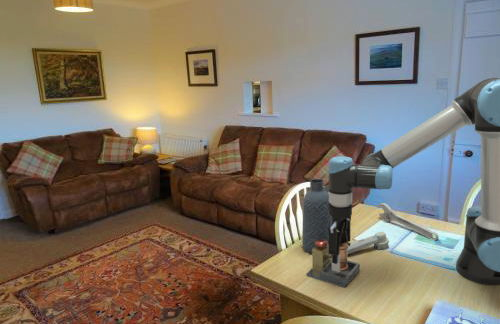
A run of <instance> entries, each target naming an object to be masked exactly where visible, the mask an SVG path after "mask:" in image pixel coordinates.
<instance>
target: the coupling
mask: <svg viewBox="0 0 500 324" xmlns="http://www.w3.org/2000/svg"><path fill="white" fill-rule="evenodd" d="M348 243H349V242H348ZM348 243H347V242H346V241H344V240H341V241H340V249H339V254H340V272H343V271H346V270H347V269H348V264H347V260H348V254H347V248H348ZM331 268H332V263H331Z"/></svg>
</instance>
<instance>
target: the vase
mask: <svg viewBox="0 0 500 324" xmlns="http://www.w3.org/2000/svg"><path fill="white" fill-rule="evenodd" d="M324 183H325V181H324V180H323V179H319V178H313V179H311V180H310V181H309V190H307V192H306V193H305V194H304V196H303V200H302V201H303V202H302V233H301V234H302V236H301V237H302V238H301V239H302V240H301V242H302V243H301V245H302V249H303V250H304V252H306V253H308V254H311V255H312V249H313V248H314V247H315V246H316V245H315V240H317V239H325V240H327V242H328V244H329V231H328V227H329V226H330V227H332V216H330V215H329V195H328V193H327V192H326V191H325V190H324V187H325V184H324Z"/></svg>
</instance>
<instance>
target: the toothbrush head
mask: <svg viewBox="0 0 500 324" xmlns="http://www.w3.org/2000/svg"><path fill="white" fill-rule="evenodd" d="M386 235H387V234H386V232H384V231H377V232H375V234H374V235H372V236H369V237H366V238H361V239H358V240H355V241H352V242H350V243H351V244H350V246H348V253H347V255H349V254H353V253H355V252H357V251H359V250H363V249H365V248H368V247H370V246H373V245H374V248H375V249H377V250H386V249H387V248H388V247H389V243H390V239H389V238H388V237H387V236H386ZM330 258H332V255H331V254H330Z"/></svg>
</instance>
